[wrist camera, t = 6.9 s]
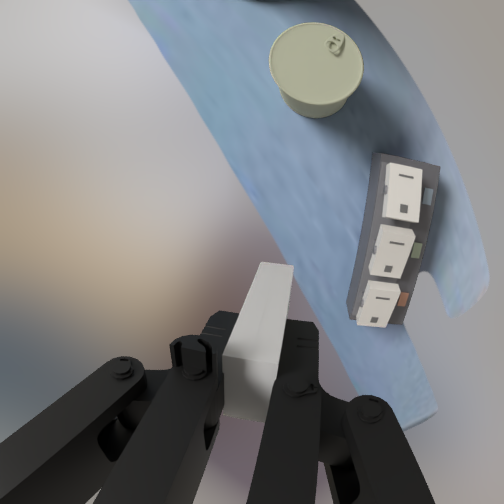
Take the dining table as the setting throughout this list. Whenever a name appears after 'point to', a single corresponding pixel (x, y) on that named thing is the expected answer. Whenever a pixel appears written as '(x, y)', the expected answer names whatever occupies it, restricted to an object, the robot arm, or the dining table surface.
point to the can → (315, 68)
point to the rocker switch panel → (375, 219)
